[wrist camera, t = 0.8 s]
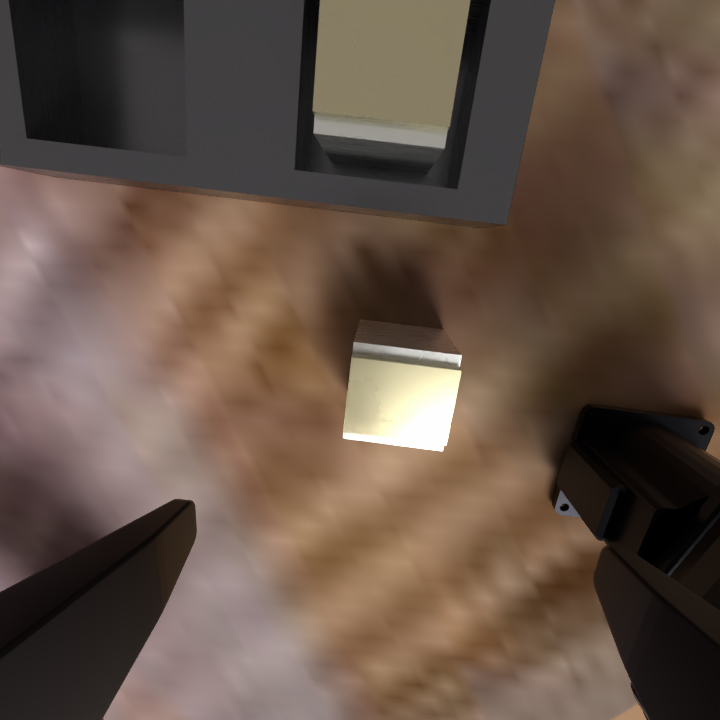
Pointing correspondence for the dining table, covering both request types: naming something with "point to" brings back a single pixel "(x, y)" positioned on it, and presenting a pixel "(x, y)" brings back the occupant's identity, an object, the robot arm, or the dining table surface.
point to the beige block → (387, 80)
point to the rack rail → (249, 105)
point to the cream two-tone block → (401, 385)
